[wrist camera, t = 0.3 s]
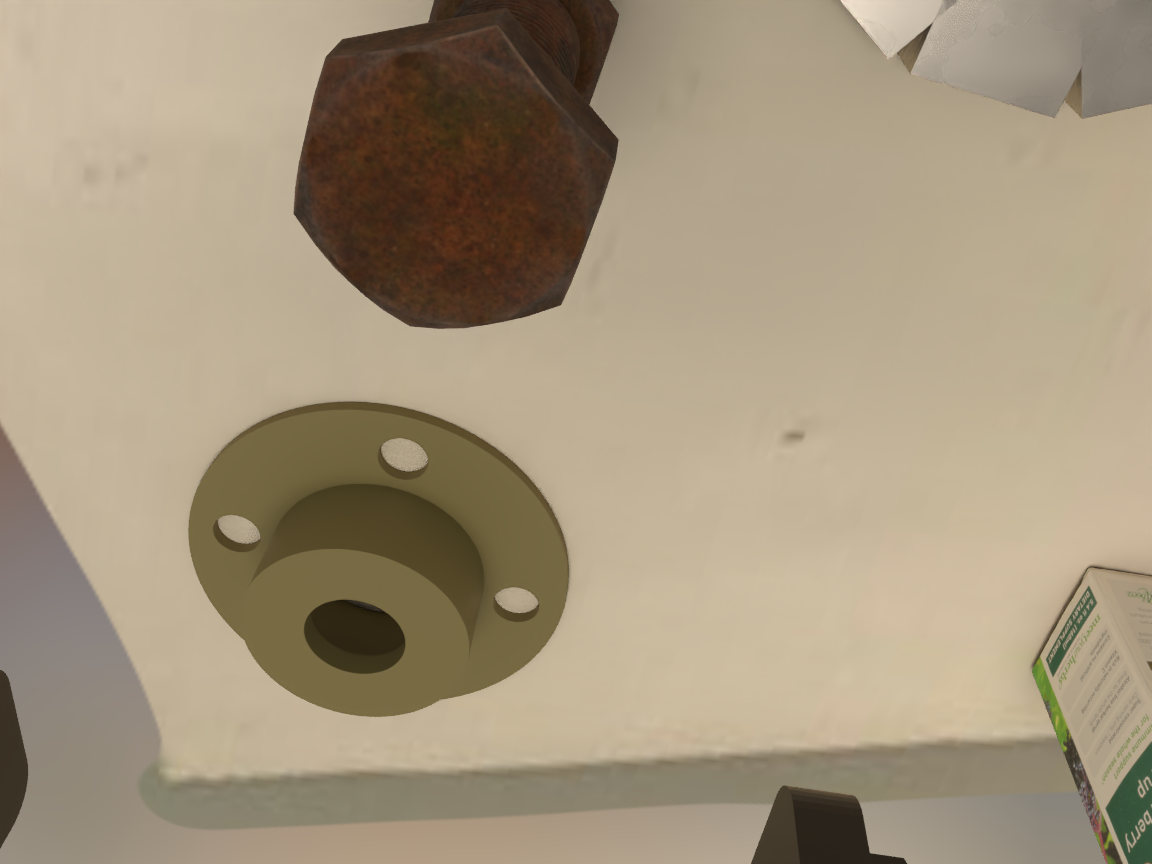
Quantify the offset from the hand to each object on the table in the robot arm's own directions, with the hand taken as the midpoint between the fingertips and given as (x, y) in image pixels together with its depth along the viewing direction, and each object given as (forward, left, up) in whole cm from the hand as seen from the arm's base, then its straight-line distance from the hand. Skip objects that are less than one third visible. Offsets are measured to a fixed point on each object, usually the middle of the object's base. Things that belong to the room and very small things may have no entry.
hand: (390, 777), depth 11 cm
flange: (+12, +16, -26) cm, 33 cm away
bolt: (0, -3, -25) cm, 25 cm away
